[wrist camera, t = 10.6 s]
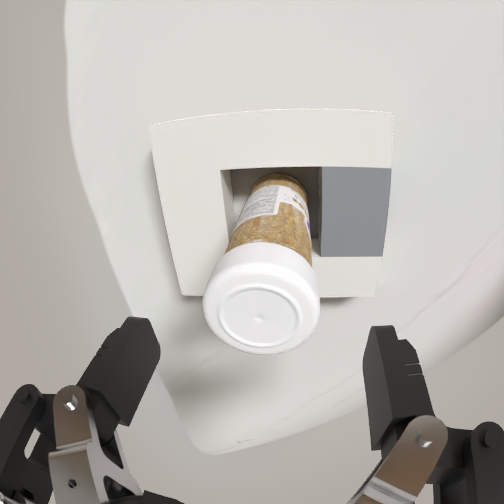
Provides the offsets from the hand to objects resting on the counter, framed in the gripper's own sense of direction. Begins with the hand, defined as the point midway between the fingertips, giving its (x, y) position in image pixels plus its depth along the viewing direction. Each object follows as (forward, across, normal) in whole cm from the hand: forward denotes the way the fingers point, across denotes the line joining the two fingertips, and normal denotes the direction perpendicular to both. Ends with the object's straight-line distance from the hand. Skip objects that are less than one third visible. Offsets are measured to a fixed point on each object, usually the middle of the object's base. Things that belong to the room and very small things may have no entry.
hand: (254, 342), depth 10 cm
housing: (+14, 0, 0) cm, 14 cm away
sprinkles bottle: (+15, 0, 0) cm, 15 cm away
